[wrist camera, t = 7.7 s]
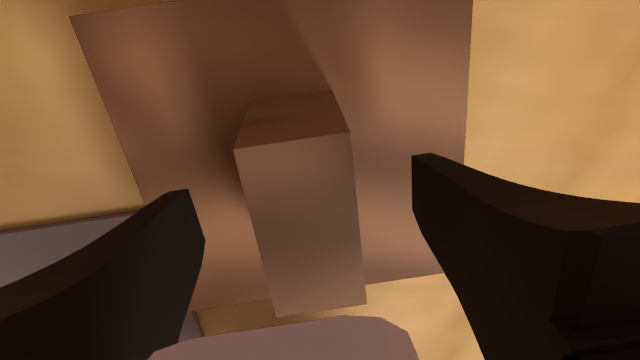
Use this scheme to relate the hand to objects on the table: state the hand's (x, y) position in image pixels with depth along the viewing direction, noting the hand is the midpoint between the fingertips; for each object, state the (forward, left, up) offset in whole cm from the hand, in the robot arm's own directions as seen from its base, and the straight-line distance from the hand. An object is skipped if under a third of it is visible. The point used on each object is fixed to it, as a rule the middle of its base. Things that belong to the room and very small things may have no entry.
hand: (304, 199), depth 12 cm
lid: (0, 0, -4) cm, 4 cm away
